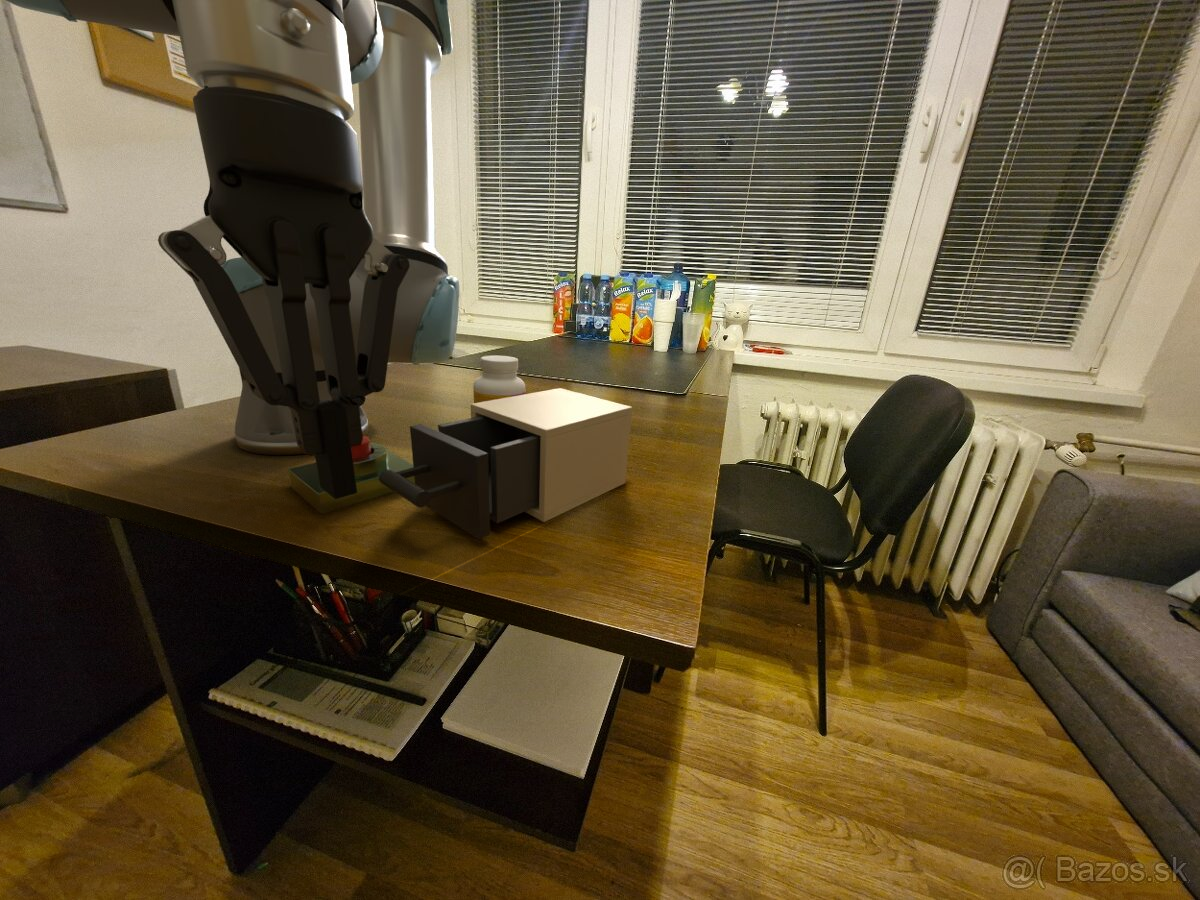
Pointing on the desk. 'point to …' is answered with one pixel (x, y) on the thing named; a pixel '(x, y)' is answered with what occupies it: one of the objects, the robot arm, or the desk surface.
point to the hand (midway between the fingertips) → (338, 489)
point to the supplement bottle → (498, 379)
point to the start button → (362, 449)
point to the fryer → (569, 444)
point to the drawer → (471, 472)
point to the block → (365, 477)
